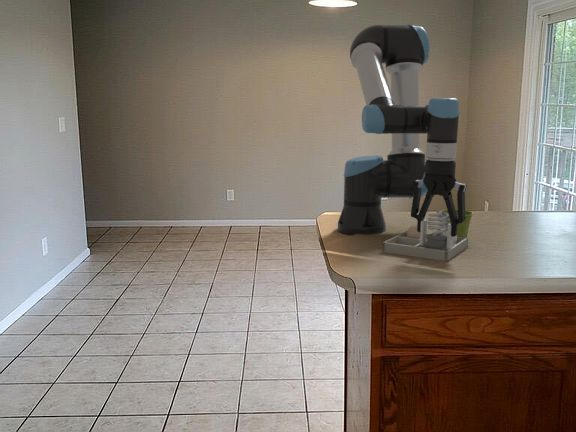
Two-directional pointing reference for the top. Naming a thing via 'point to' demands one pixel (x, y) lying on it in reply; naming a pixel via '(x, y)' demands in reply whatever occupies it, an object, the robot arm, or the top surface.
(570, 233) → the top surface
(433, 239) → the light bulb
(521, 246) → the top surface
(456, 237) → the white egg
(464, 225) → the plant pot
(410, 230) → the brown egg
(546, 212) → the top surface
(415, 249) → the carton
